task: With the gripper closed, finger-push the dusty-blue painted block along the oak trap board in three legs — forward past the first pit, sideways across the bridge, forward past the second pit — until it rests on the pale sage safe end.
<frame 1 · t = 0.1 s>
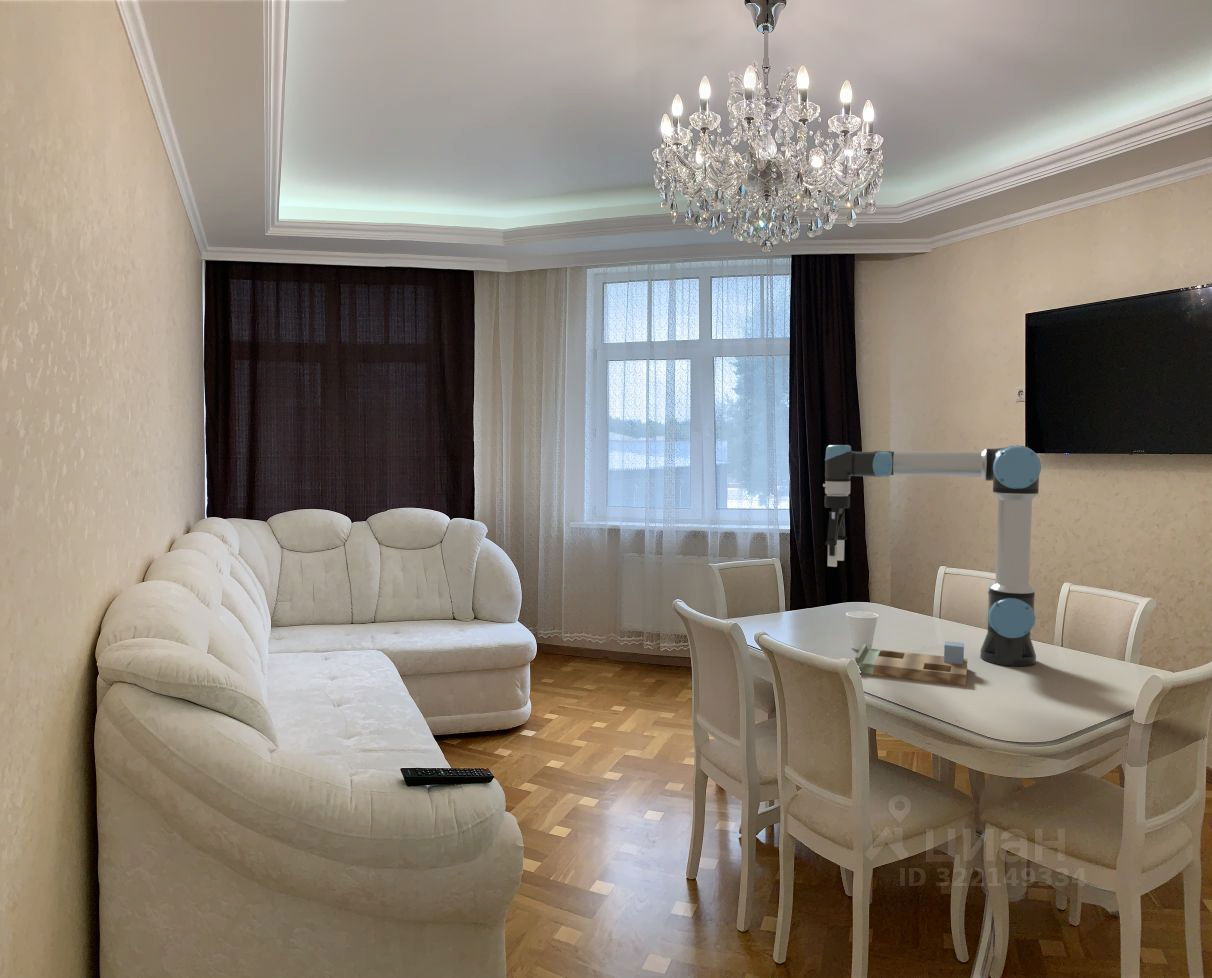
hand: (835, 563, 256), 28 cm above the table, fingers open, 13 cm apart
trap board: (913, 671, 237), on the table
block: (953, 661, 237), point 3 cm above the table, touching trap board
cup: (861, 649, 262), on the table
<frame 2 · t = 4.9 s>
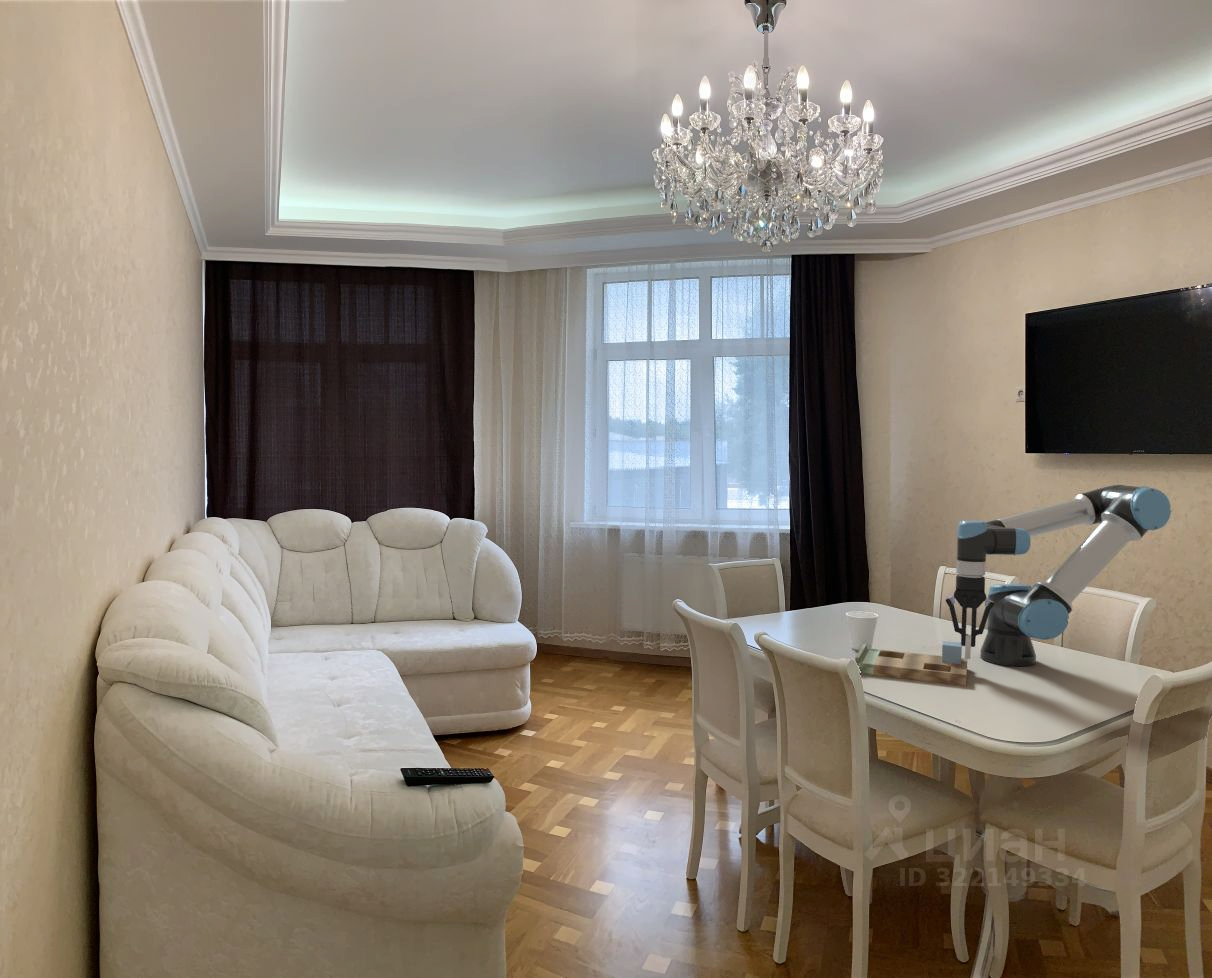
hand: (967, 657, 235), 5 cm above the table, fingers closed
block: (951, 661, 237), point 3 cm above the table, touching gripper, trap board
everything else where it was.
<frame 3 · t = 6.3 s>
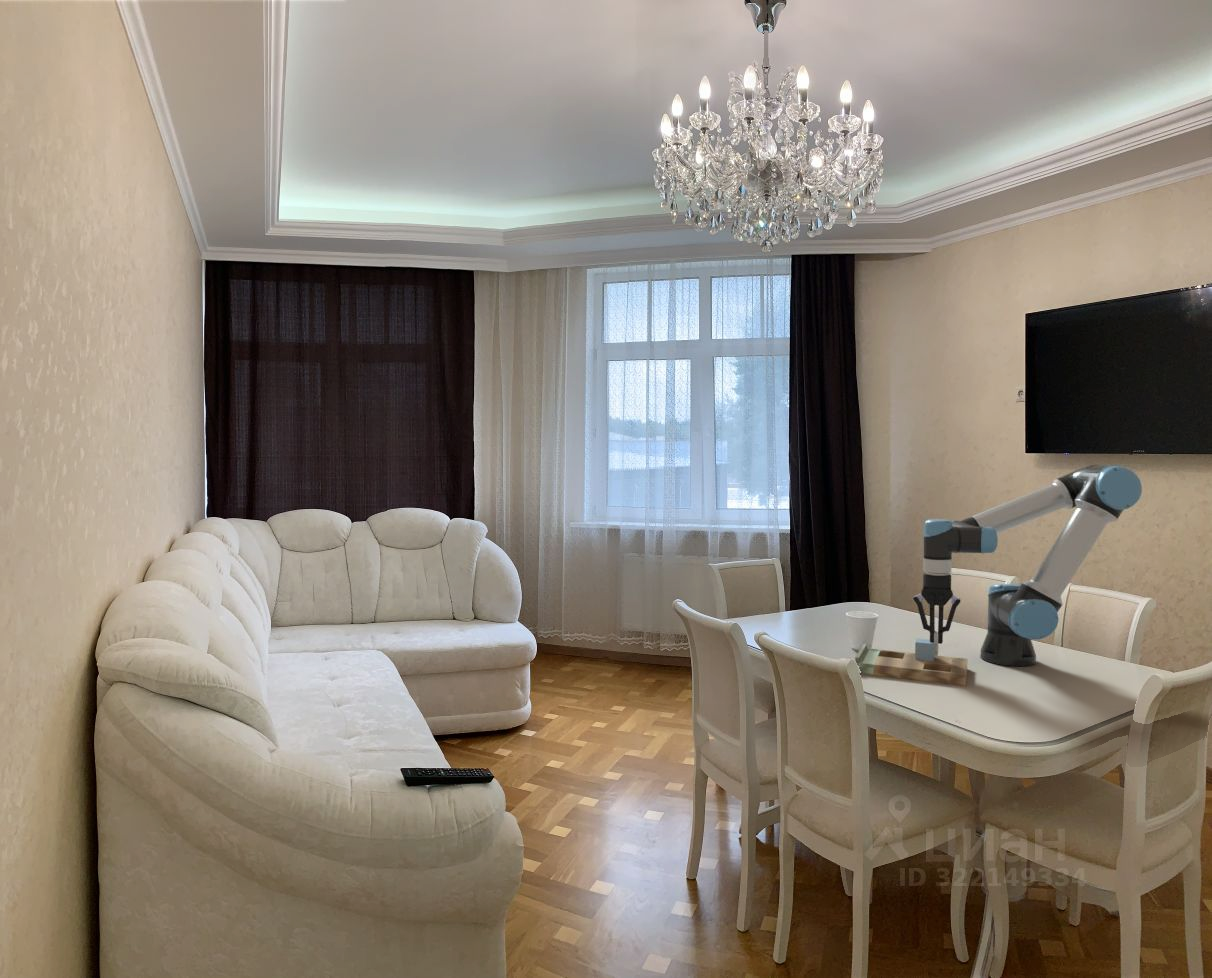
hand: (935, 654, 238), 5 cm above the table, fingers closed
block: (924, 658, 240), point 3 cm above the table, touching gripper, trap board
everything else where it was.
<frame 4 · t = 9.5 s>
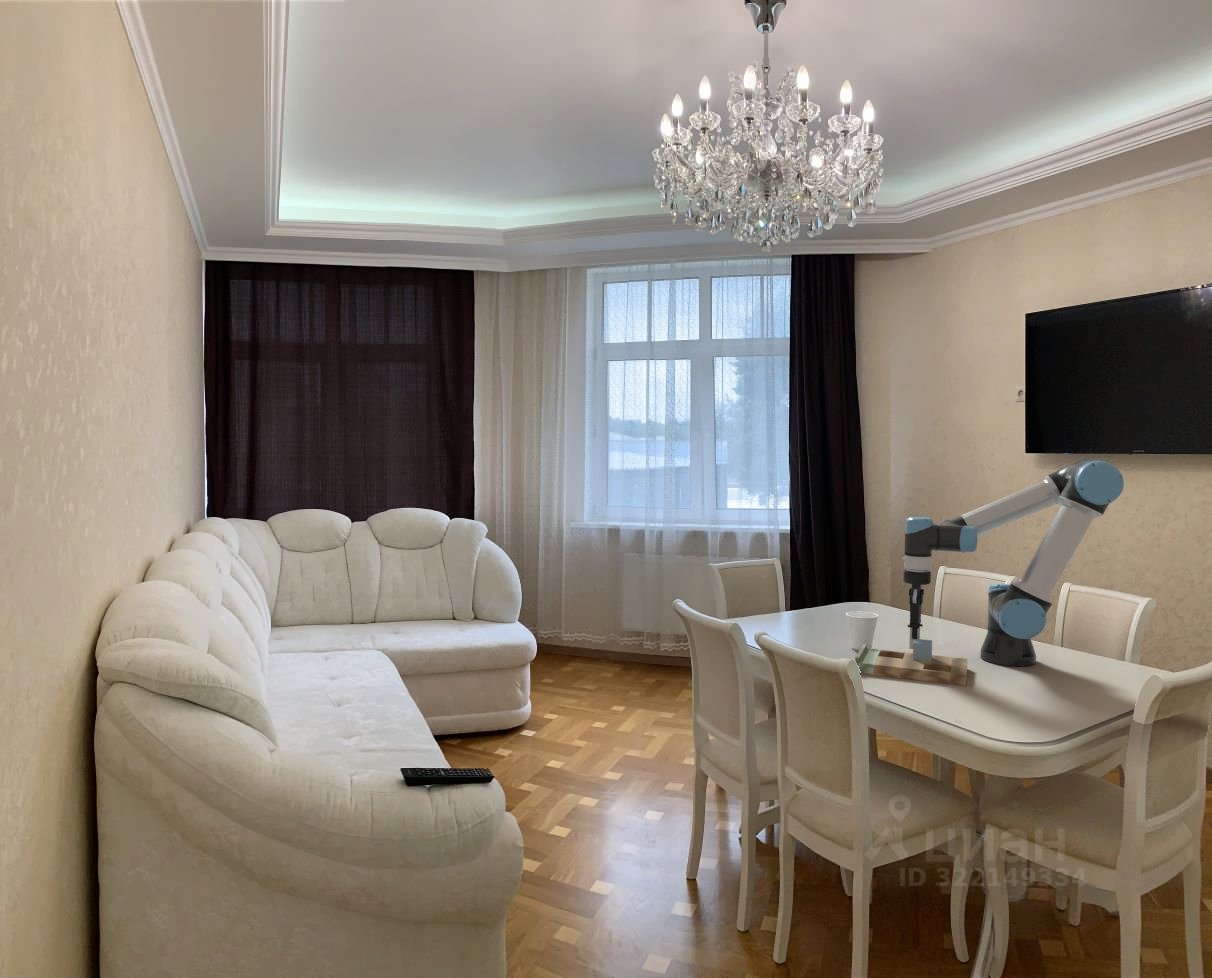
hand: (914, 648, 244), 5 cm above the table, fingers closed
block: (922, 658, 240), point 3 cm above the table, touching gripper
everything else where it was.
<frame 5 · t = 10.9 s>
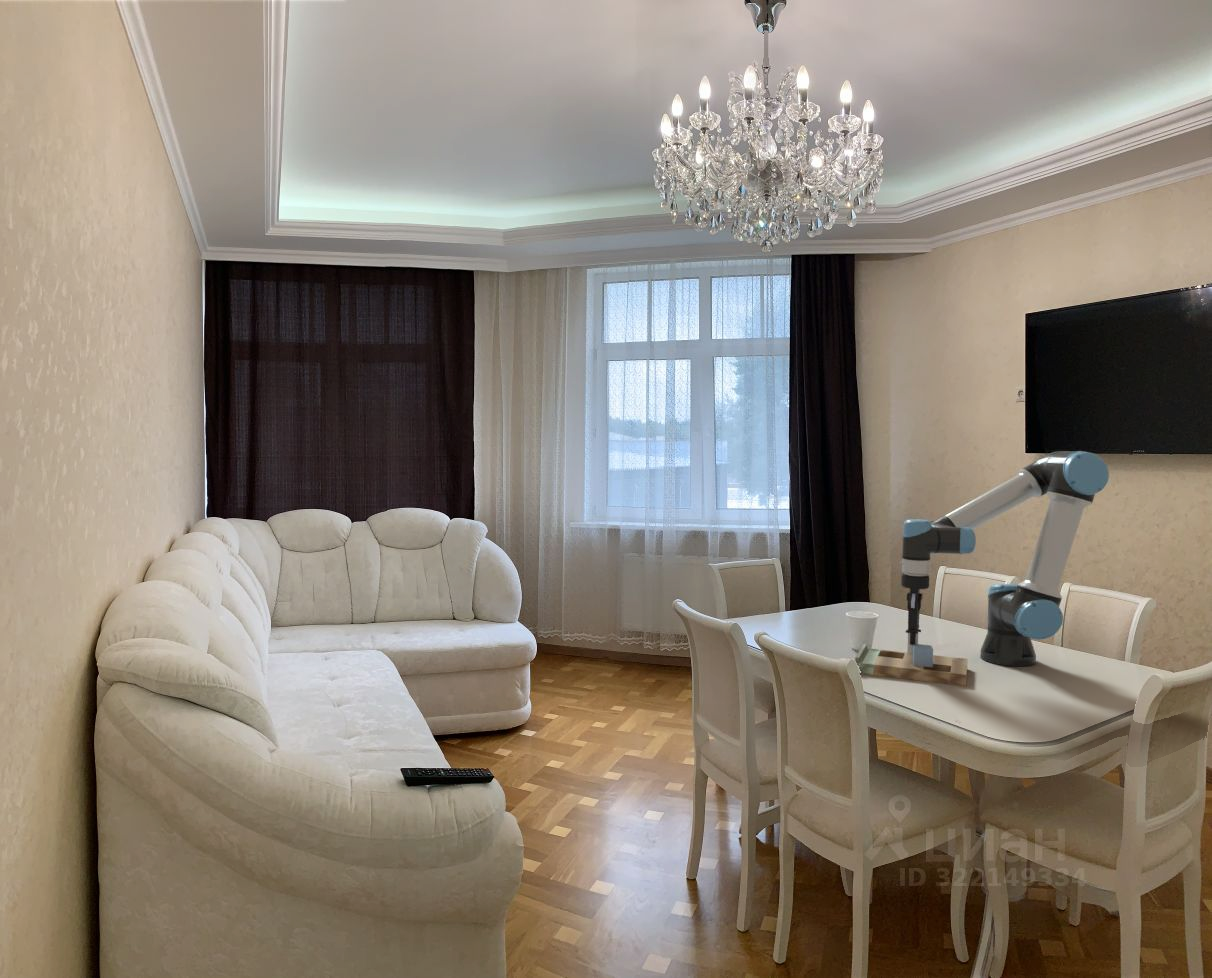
hand: (912, 654, 237), 5 cm above the table, fingers closed
block: (922, 664, 234), point 3 cm above the table, touching gripper, trap board
everything else where it was.
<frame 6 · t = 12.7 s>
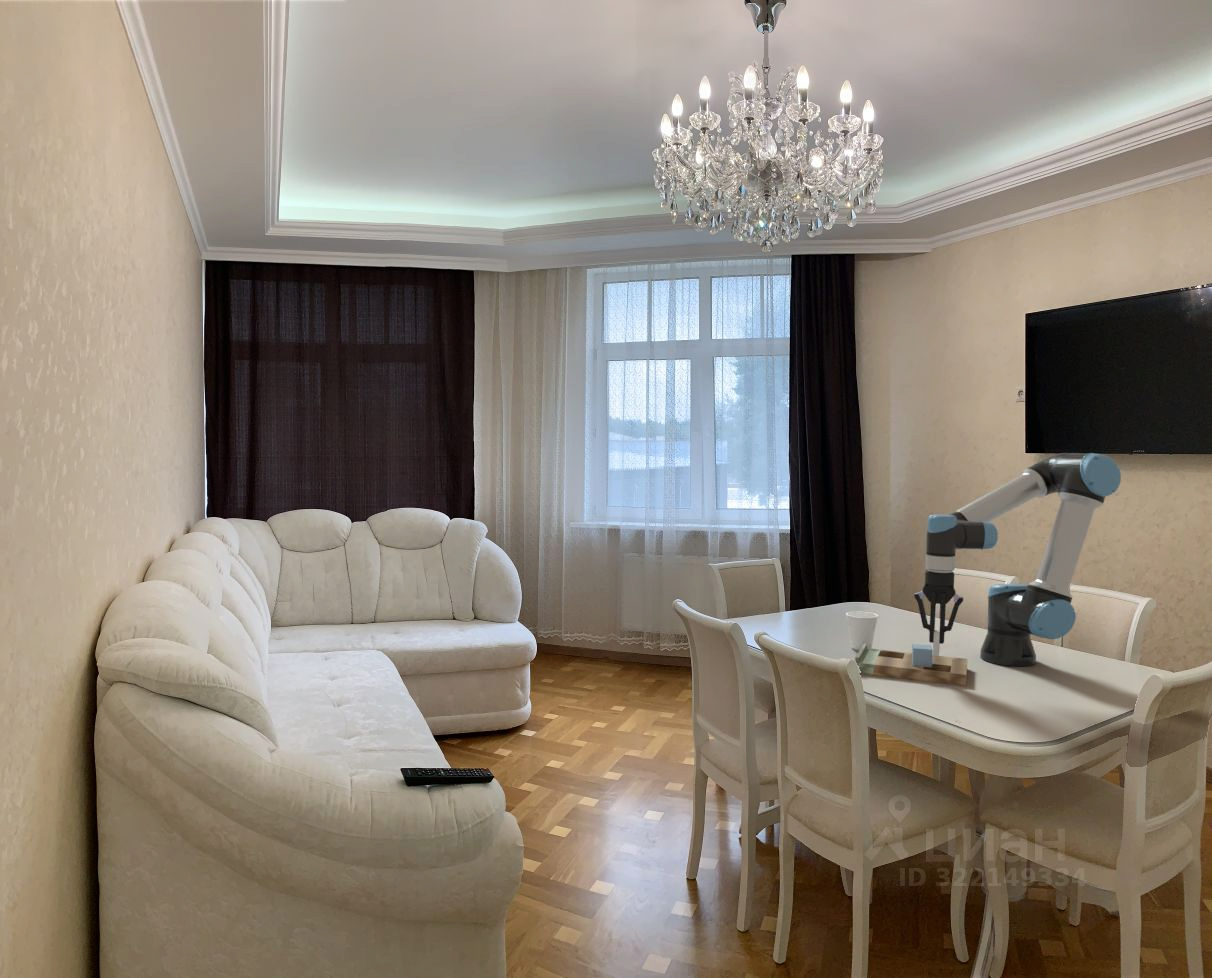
hand: (936, 654, 230), 7 cm above the table, fingers closed
block: (921, 664, 234), point 3 cm above the table, touching trap board
everything else where it was.
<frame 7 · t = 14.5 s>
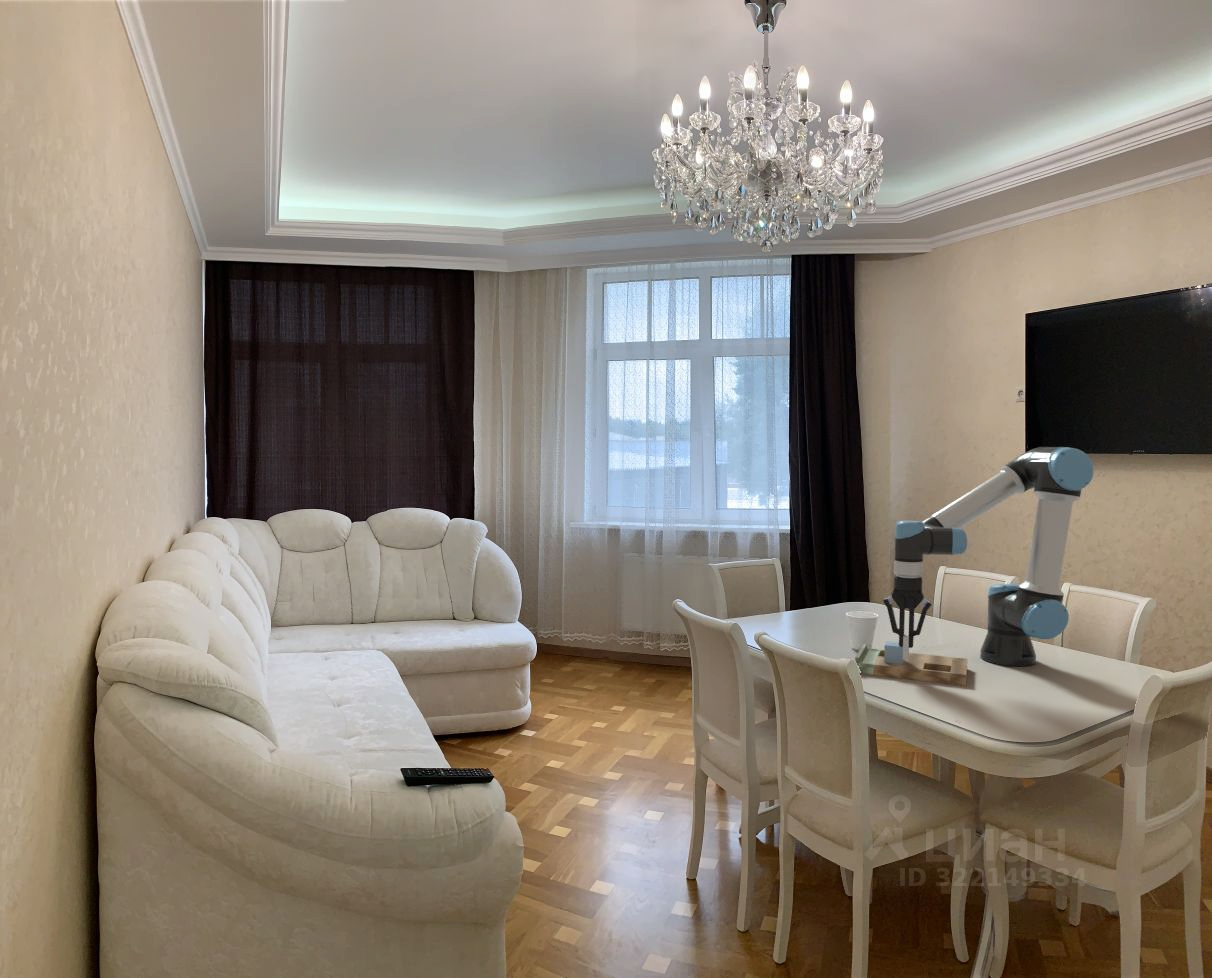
hand: (905, 658, 233), 5 cm above the table, fingers closed
block: (894, 661, 236), point 3 cm above the table, touching gripper
everything else where it was.
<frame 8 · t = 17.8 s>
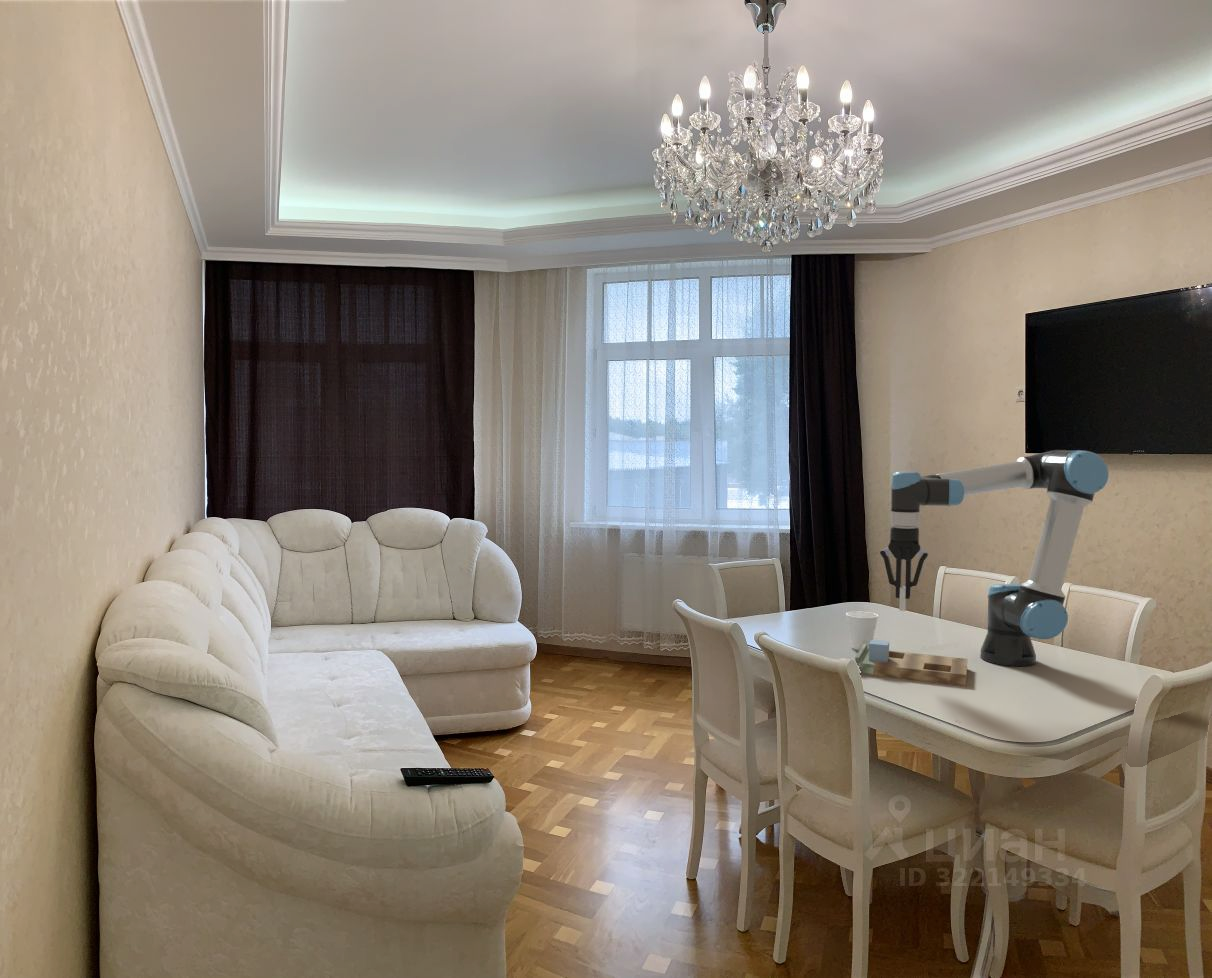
hand: (902, 609, 233), 18 cm above the table, fingers closed
block: (878, 659, 238), point 3 cm above the table, touching trap board
everything else where it was.
at the end: block inside the target area on the trap board (2.8 cm from its centre), point 3.0 cm above the trap board's base; block tilted 0° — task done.
